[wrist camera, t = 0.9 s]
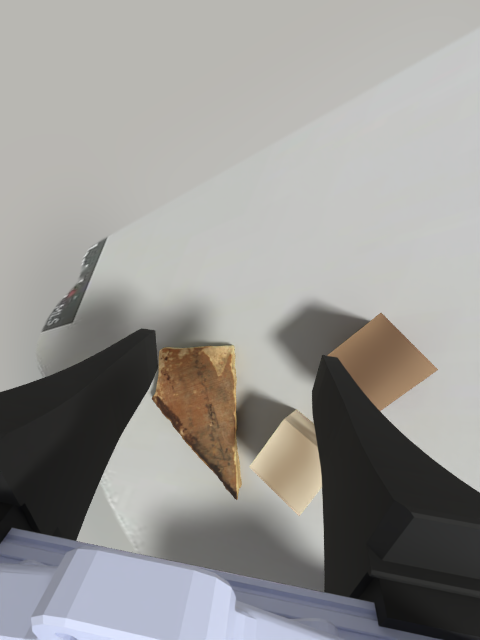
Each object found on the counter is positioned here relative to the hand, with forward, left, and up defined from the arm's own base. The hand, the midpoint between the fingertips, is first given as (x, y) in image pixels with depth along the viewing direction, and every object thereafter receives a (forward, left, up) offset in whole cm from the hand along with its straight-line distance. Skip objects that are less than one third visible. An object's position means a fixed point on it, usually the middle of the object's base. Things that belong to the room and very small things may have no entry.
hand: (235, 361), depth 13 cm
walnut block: (-4, -5, -14) cm, 15 cm away
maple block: (-6, +4, -14) cm, 16 cm away
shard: (+2, +8, -15) cm, 17 cm away
